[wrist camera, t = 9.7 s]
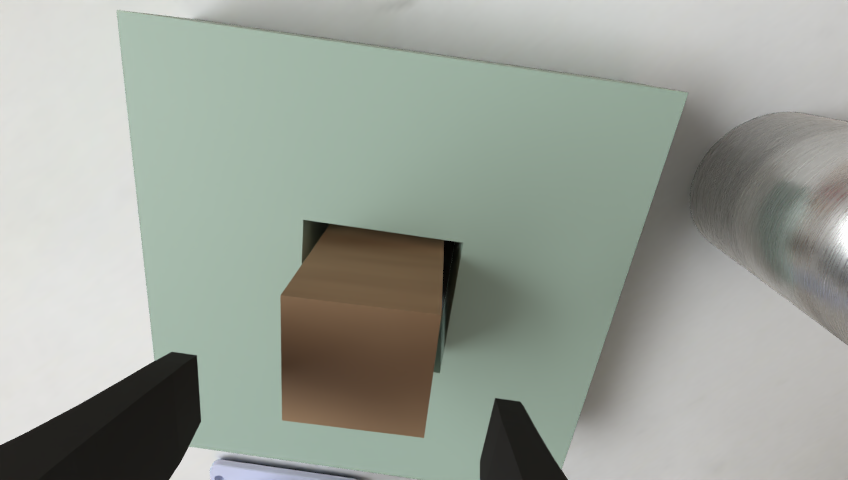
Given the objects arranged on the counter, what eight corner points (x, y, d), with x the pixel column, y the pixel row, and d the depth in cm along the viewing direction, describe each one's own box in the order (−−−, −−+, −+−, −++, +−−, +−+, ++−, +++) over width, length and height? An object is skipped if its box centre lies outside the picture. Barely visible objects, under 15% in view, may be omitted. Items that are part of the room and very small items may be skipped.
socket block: (535, 425, 23) (551, 498, 19) (210, 378, 23) (163, 442, 19) (635, 82, 17) (688, 92, 13) (191, 18, 17) (116, 10, 13)
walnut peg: (433, 296, 20) (424, 437, 13) (342, 286, 20) (282, 420, 13) (445, 210, 19) (441, 314, 11) (347, 199, 19) (280, 295, 11)
